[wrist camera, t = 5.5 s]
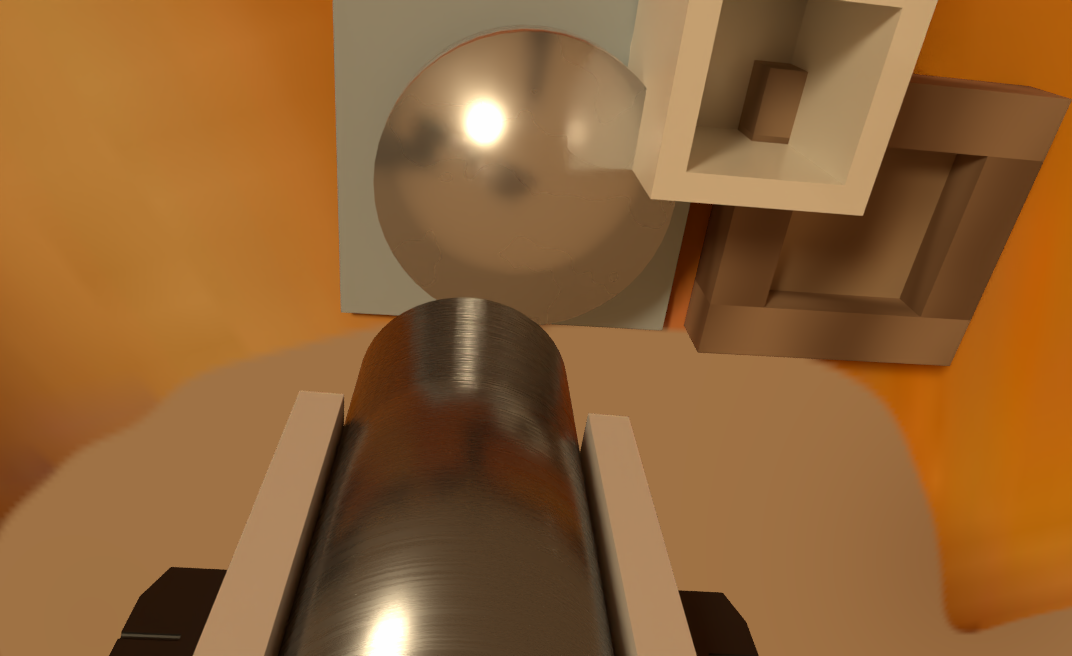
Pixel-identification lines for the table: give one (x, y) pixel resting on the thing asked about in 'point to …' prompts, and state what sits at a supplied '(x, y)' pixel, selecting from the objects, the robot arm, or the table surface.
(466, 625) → the cell
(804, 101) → the cup
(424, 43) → the base
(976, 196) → the brown square tray
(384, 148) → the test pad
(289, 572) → the robot arm
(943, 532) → the table surface
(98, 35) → the table surface
